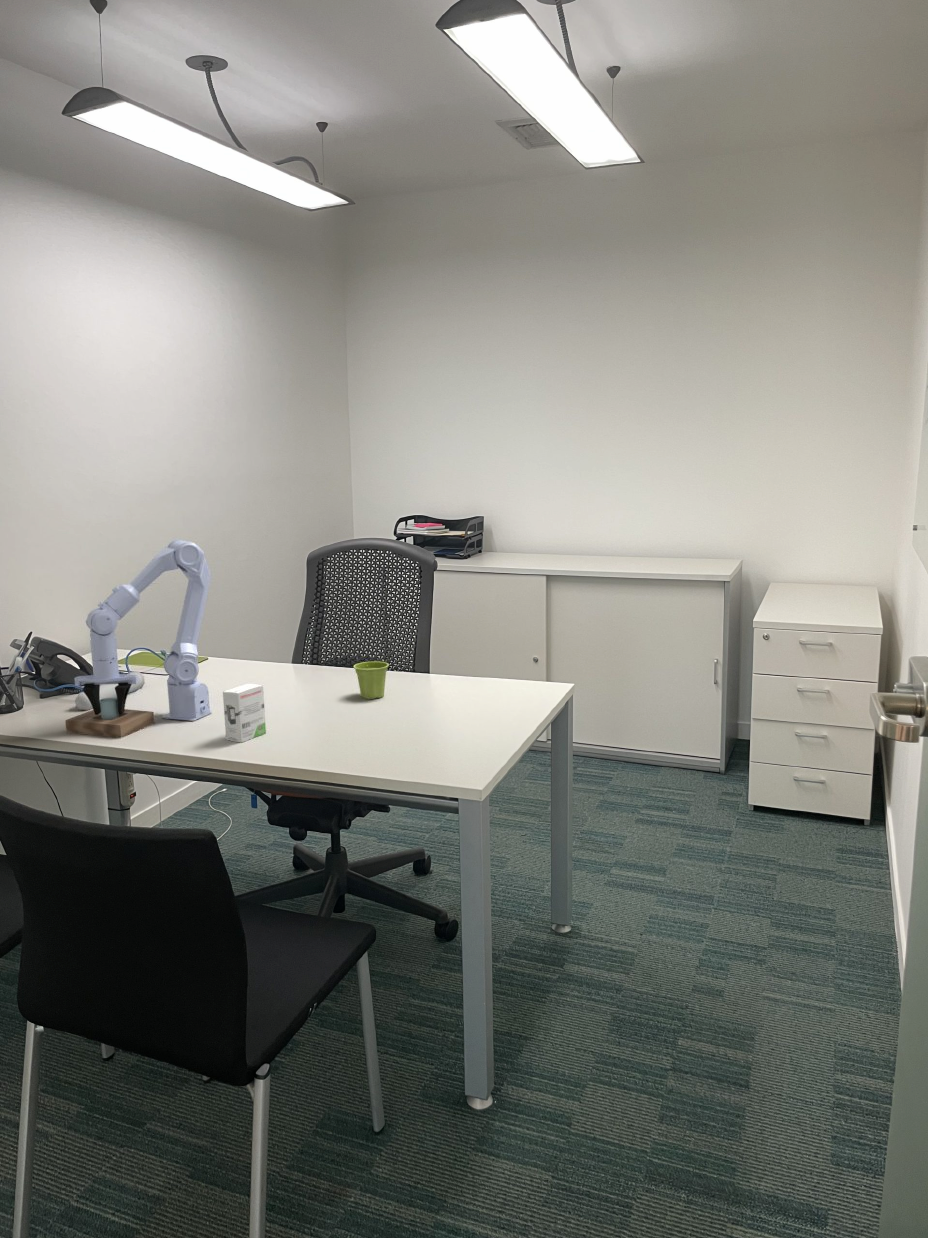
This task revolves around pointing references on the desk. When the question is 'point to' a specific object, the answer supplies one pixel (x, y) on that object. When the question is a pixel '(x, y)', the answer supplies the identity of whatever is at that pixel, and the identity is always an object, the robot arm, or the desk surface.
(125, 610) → the robot arm
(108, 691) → the tube
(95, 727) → the socket board
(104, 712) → the peg
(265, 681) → the desk surface
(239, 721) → the ink box
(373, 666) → the plant pot
